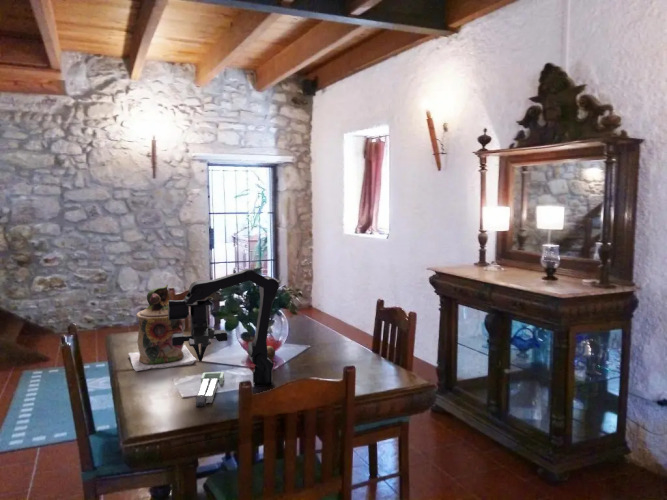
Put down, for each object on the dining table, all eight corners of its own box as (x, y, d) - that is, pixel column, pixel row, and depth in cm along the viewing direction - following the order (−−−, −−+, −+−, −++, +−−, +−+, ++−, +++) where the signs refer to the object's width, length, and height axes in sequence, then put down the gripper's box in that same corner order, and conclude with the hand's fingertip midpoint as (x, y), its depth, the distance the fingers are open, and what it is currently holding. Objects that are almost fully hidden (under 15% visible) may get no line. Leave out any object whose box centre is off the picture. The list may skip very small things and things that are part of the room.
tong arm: (210, 385, 193) (210, 377, 193) (204, 406, 174) (204, 398, 174) (202, 385, 193) (202, 378, 193) (195, 406, 174) (195, 398, 173)
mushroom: (268, 348, 231) (265, 339, 226) (280, 358, 226) (278, 349, 222) (253, 359, 227) (251, 350, 223) (265, 370, 222) (263, 361, 218)
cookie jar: (127, 356, 229) (124, 283, 225) (185, 349, 240) (183, 279, 237) (135, 373, 207) (132, 292, 204) (198, 364, 218) (196, 287, 215)
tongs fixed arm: (217, 385, 194) (217, 378, 193) (211, 402, 177) (211, 395, 177) (212, 385, 193) (211, 378, 193) (205, 402, 177) (205, 395, 177)
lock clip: (224, 378, 201) (224, 372, 200) (222, 384, 195) (222, 377, 194) (203, 379, 200) (203, 372, 200) (200, 384, 194) (200, 378, 194)
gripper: (172, 325, 175) (173, 371, 177) (229, 320, 181) (230, 365, 183) (170, 318, 186) (172, 361, 187) (224, 314, 192) (225, 356, 193)
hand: (200, 361), depth 187 cm, fingers closed
